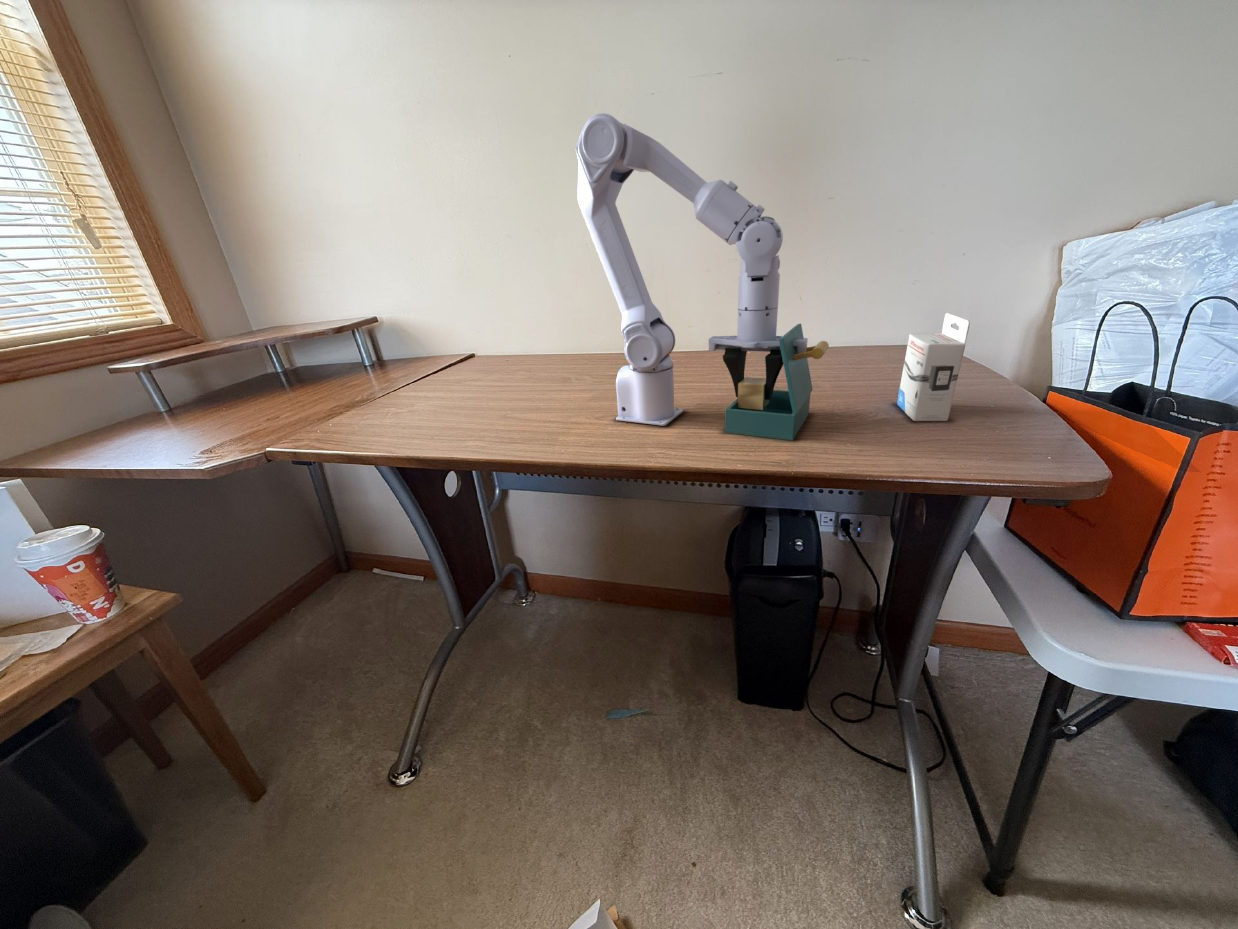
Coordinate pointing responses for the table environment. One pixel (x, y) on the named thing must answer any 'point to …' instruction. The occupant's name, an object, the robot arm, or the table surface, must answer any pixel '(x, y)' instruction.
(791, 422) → the chest
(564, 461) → the table surface
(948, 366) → the ink box
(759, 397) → the block
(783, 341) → the chest lid
